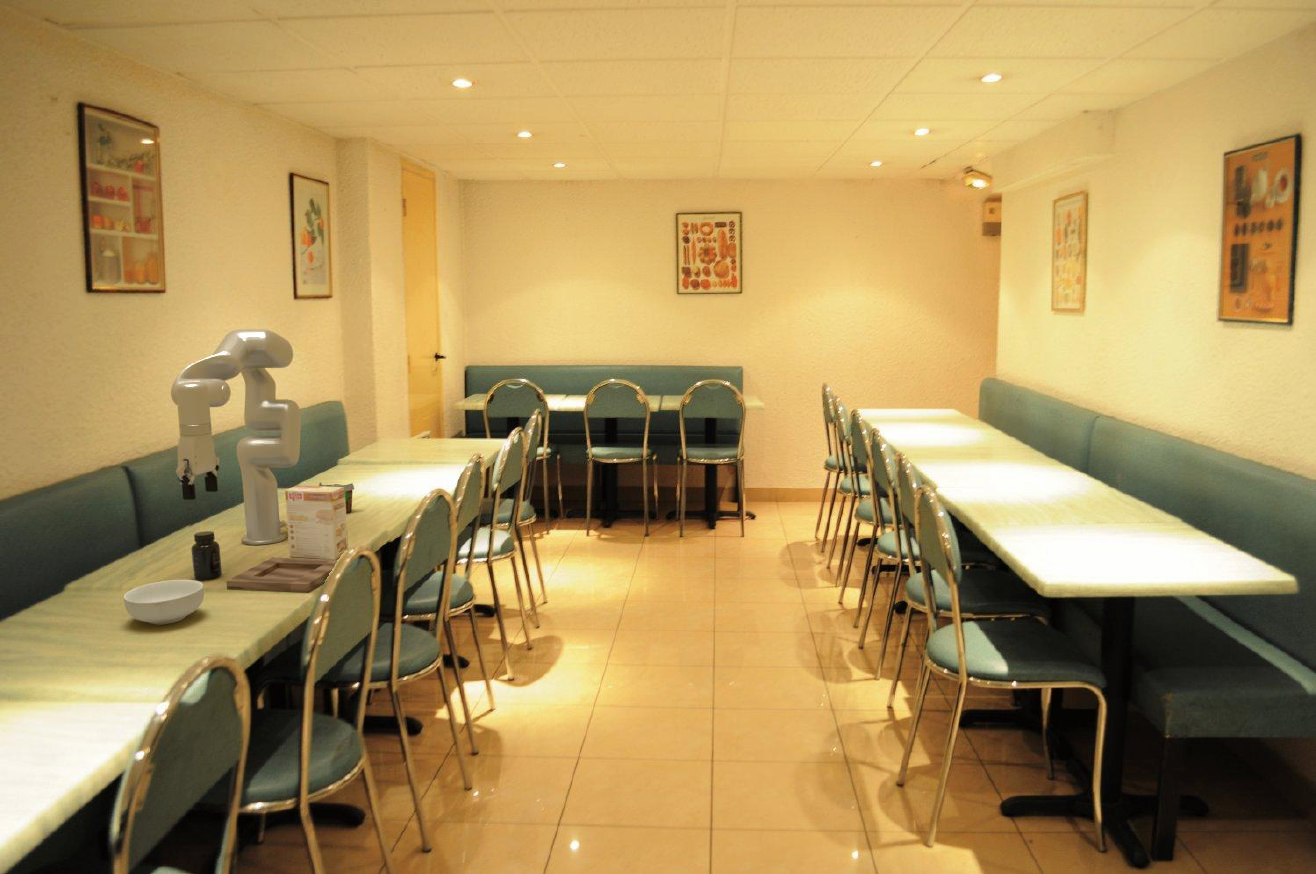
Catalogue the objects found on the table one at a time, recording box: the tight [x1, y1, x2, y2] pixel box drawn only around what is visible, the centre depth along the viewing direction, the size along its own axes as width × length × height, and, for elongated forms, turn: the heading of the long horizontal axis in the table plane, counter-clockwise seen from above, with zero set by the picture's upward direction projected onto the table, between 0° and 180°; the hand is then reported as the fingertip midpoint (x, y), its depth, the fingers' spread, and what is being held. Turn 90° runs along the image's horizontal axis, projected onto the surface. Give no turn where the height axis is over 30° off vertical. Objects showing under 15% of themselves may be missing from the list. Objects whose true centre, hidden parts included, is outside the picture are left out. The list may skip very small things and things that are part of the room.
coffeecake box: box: [284, 484, 349, 560], centre depth 291 cm, size 15×7×20 cm, turn 74°
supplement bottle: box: [190, 530, 223, 582], centre depth 271 cm, size 7×7×12 cm
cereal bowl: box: [123, 579, 205, 626], centre depth 239 cm, size 17×17×7 cm
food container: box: [318, 482, 355, 515], centre depth 342 cm, size 12×6×10 cm, turn 81°
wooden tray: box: [225, 557, 338, 594], centre depth 270 cm, size 22×22×2 cm
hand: (200, 495), depth 268 cm, fingers open, 9 cm apart
